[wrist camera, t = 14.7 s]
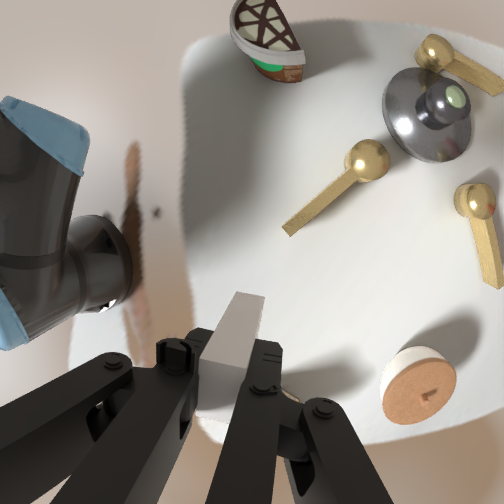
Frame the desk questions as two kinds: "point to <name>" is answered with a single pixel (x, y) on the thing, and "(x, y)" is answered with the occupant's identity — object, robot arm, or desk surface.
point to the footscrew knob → (345, 180)
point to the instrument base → (412, 125)
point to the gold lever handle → (482, 228)
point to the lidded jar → (416, 385)
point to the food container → (267, 39)
